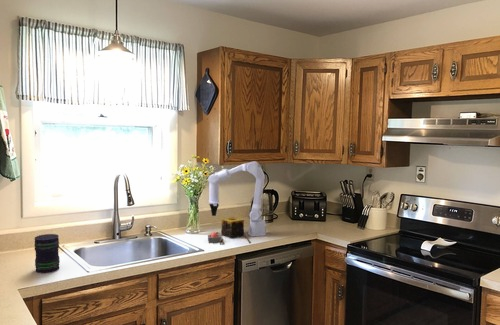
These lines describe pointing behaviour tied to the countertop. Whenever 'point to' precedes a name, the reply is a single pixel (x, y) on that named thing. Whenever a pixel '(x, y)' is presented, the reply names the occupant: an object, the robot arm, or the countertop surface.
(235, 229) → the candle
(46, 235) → the storage jar
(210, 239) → the button box
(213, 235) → the dome
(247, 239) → the track
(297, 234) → the countertop surface
